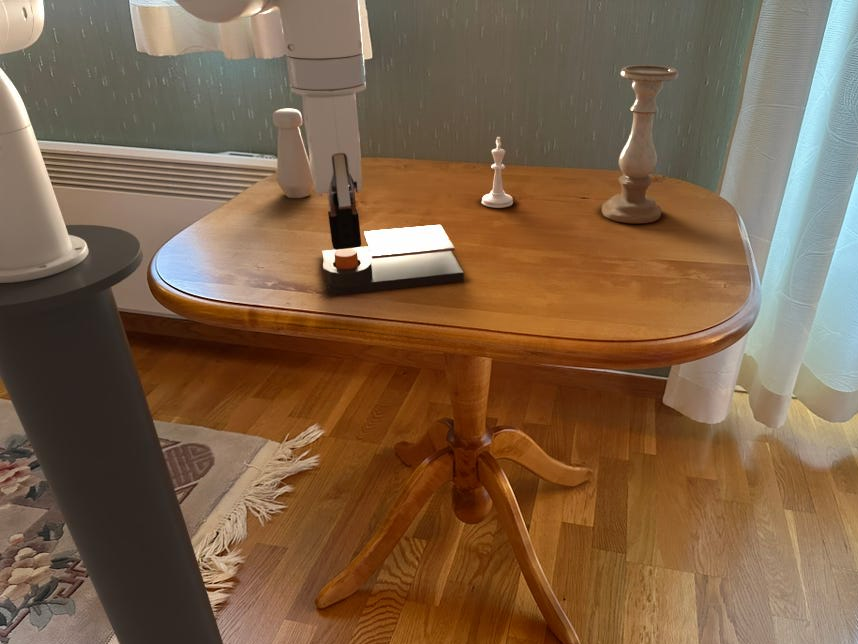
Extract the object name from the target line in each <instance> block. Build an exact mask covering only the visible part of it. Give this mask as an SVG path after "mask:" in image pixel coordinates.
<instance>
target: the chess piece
mask: <svg viewBox="0 0 858 644" xmlns="http://www.w3.org/2000/svg"><path fill="white" fill-rule="evenodd" d="M495 144H496V147H495V148H493V149H492V150H491V154H492V157H493V162H494V163H493V164H491V166H490V168H491V169H492V170H494V174H493V182H492V189H491V190H490V192H489V193H486V194H484V195H483V196H482V198H481V204H482V205H483V206H484V207H488V208H494V209H502V208H503V209H504V208H508V207H511V206H512V205H513V203H514V197H512V196H511V195H510V194H508V193H506V191H504V187H503V179H502V178H503V177H502V170H505V169H506V166H505V164H503V163H502V162H503V160H504V156H505V154H506V150H505V149H503V148H501V147H502V142H501V136H496V140H495Z"/></svg>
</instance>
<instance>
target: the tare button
mask: <svg viewBox="0 0 858 644" xmlns="http://www.w3.org/2000/svg"><path fill="white" fill-rule="evenodd" d="M334 255H335V264H336V268H338V269H353V268H355V267H358V255H357V251H356V250H355V249H351V248H348V249H339V250H337V251H335V253H334Z"/></svg>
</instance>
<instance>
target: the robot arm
mask: <svg viewBox="0 0 858 644" xmlns="http://www.w3.org/2000/svg"><path fill="white" fill-rule="evenodd" d="M173 1H174V2H175V3H176V4H177V5H179V6H180V7H181V8H182V9H183V10H184V11H186V12H187V13H189V14H190V15H192V16H193V17H195V18H197V19H199V20H202V21H204V22H207V23H212V24H224V23H230V22H233V21H238V20H241V19H245V18H250V17H256V16H259V15H263V14H269V13H275V12H279V18H280V25H281V32H282V39H283V45H284V46H283V47H284V53H285V60H286V66H287V67H286V69H287V74H288V82H289V87H290V92H291V93H292V94H295V95H299V96H301V98H302V113H303V122H304V131H305V138H306V144H307V154H308V159H309V162H310V167H311V174H312V180H313V189H314V193H315V194H316V195H317V196H318V197H323V194H327V200H328V207H329V210H328V211H327V215H328V223H329V231H330V237H331V238H330V239H331V245H332V249H333V250H339V249H348V248H358V247H362V237H361V227H360V216H359V212H358V209H357V203H356V194H359V193H360V192H361V191H362V189H363V173H362V154H361V153H362V152H361V140H360V130H359V129H360V128H359V119H358V118H359V117H358V107H357V98H356V94H357V93H360V92H363V91H365V90H366V89H367V81H366V80H367V79H366V70H365V69H366V67H365V58H364V57H365V55H364V47H363V36H362V25H361V12H360V2H359V0H173ZM44 25H45V7H44V1H43V0H0V55H4V54H10V53H13V52H17V51H21V50H24V49H26V48H27V49H28V48H29V47H30V46H32V45H34V43H36V42H37V41H38V39H39V38H40V36H41V34H42V32H43V31H44ZM65 225H66V224H65V220H64V218H63V214H62V211H61V209H60V205H59V203H58V199H57V196H56V194H55V190H54V188H53V184H52V181H51V179H50V175H49V173H48V170H47V167H46V163H45V161H44V157H43V155H42V151H41V149H40V146H39V142H38V140H37V137H36V134H35V131H34V129H33V125H32V122H31V120H30V117H29V113H28V111H27V108H26V106H25V103H24V101H23V99H22V97H21V95H20V93H19V91H18V89H17V88H16V87H15V85H14V83H13V81H12V80H11V79H10V78H9V76H8V75H7V74H6V73H5V72H4V70H3V69H2V68H1V67H0V283H15V282H24V281H30V280H35V279H40V278H44V277H48V276H51V275H55V274H57V273H60V272H63V271H66V270H68V269H70V268H72V267H74V266H76V265H77V264H79V263H80V262H82V261H83V260H84V259H85V258H86V256H87V255H88V252H89V250H88V247H87V244H86V242H85V241H84V240H83V239H81V238H79V237H76V236H72V235H68V232H67V229H66V226H65Z"/></svg>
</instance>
